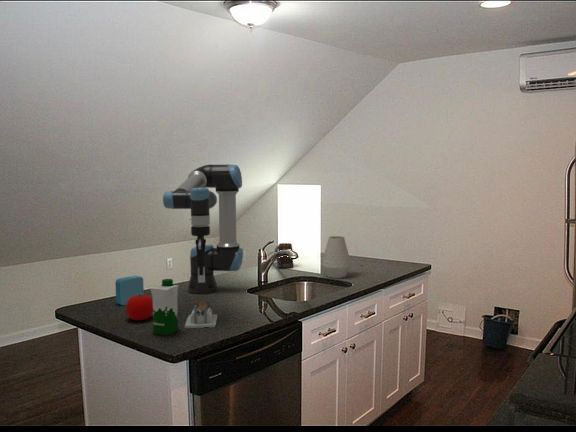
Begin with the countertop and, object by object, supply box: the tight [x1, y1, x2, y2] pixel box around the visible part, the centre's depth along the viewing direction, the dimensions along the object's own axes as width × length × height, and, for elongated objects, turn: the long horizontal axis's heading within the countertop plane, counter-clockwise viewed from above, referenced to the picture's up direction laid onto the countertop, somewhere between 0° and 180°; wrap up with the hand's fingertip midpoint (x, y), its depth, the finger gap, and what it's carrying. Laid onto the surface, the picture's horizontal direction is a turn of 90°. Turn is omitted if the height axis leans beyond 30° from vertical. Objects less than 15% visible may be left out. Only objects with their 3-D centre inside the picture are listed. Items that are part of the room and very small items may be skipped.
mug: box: [274, 242, 294, 270], centre depth 309 cm, size 16×11×15 cm
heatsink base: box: [184, 300, 218, 329], centre depth 201 cm, size 14×12×8 cm
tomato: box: [125, 294, 153, 321], centre depth 205 cm, size 11×12×10 cm
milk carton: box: [149, 278, 179, 337], centre depth 188 cm, size 9×9×20 cm
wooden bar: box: [197, 300, 206, 313], centre depth 201 cm, size 11×3×2 cm, turn 5°
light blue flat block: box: [115, 275, 145, 306], centre depth 230 cm, size 12×4×12 cm, turn 139°
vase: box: [320, 235, 352, 279], centre depth 285 cm, size 18×17×23 cm
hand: (201, 282), depth 203 cm, fingers closed
